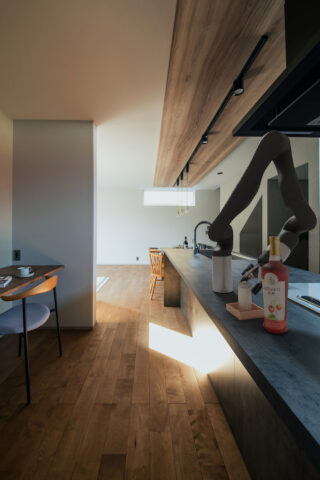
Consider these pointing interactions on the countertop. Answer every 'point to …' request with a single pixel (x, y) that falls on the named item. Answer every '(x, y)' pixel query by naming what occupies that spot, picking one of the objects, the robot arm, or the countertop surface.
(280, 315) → the liquor
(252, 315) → the dish
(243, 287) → the battery cell
